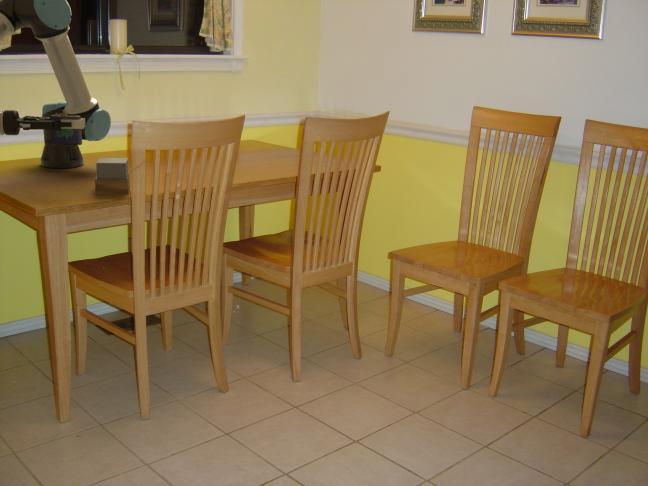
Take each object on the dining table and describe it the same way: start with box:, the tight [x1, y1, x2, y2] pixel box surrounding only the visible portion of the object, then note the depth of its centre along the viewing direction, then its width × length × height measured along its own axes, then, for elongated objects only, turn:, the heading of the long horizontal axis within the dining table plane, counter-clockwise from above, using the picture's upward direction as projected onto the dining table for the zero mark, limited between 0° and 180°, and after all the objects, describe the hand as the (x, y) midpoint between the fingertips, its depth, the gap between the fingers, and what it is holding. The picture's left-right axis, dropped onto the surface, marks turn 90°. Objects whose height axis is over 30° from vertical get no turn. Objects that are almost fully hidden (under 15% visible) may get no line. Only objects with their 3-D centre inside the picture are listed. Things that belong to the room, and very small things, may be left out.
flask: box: [50, 110, 83, 146], centre depth 235 cm, size 9×3×11 cm, turn 95°
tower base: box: [94, 172, 131, 195], centre depth 245 cm, size 10×10×5 cm
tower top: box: [95, 157, 129, 179], centre depth 244 cm, size 9×9×5 cm
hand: (84, 123), depth 235 cm, fingers closed on flask, 3 cm apart
